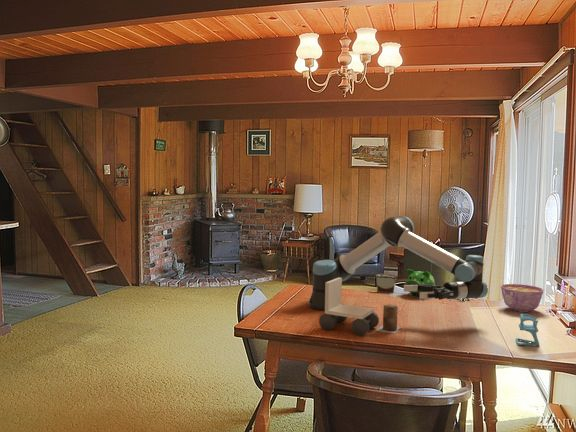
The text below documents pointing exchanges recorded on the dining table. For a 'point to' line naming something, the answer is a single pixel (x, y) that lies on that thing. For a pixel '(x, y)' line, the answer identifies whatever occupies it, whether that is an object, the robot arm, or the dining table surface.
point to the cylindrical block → (390, 317)
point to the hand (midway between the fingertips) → (411, 291)
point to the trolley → (345, 311)
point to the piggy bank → (419, 279)
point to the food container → (385, 283)
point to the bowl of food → (521, 296)
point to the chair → (528, 329)
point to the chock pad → (386, 330)
